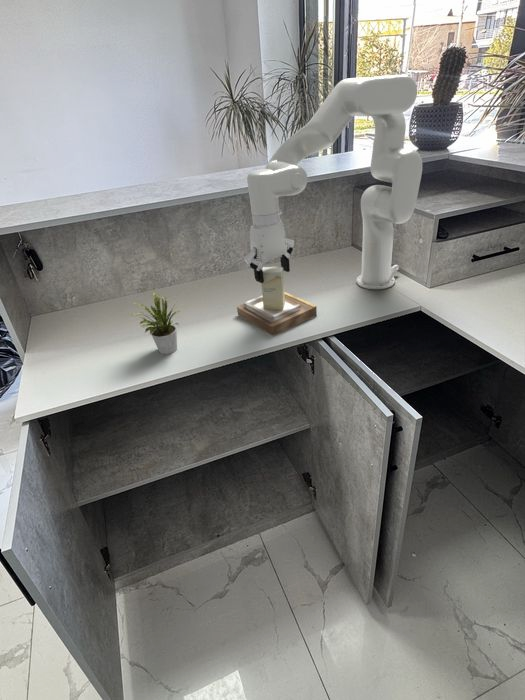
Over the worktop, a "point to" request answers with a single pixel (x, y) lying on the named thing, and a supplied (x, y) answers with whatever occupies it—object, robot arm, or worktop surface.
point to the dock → (277, 314)
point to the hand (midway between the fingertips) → (273, 276)
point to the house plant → (161, 326)
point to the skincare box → (273, 288)
